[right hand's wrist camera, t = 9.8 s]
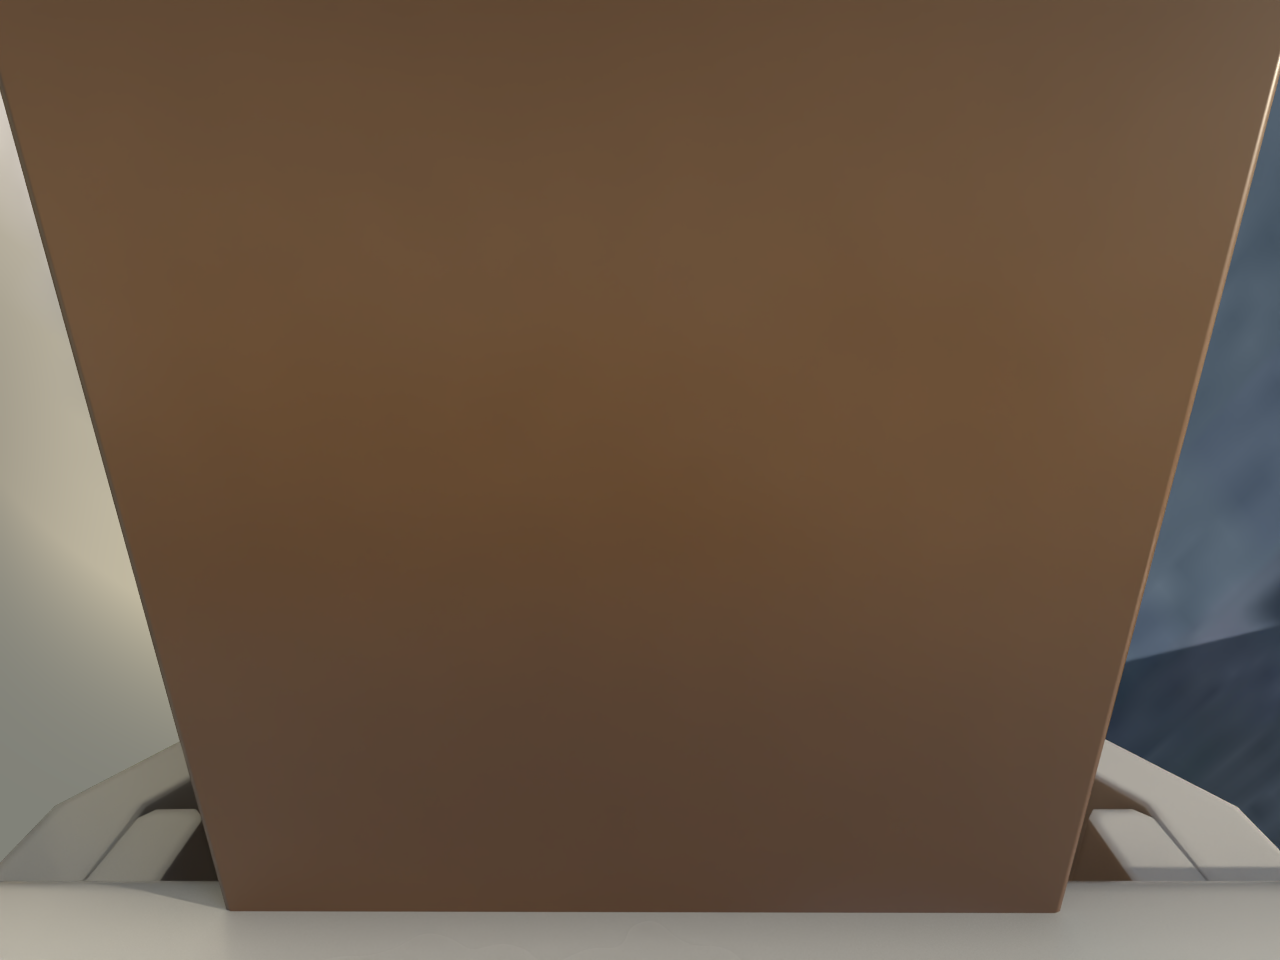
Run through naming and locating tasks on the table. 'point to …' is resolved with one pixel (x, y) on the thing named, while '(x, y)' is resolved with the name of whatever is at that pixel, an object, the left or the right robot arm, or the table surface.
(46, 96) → the bar
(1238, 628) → the table surface
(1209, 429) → the table surface
